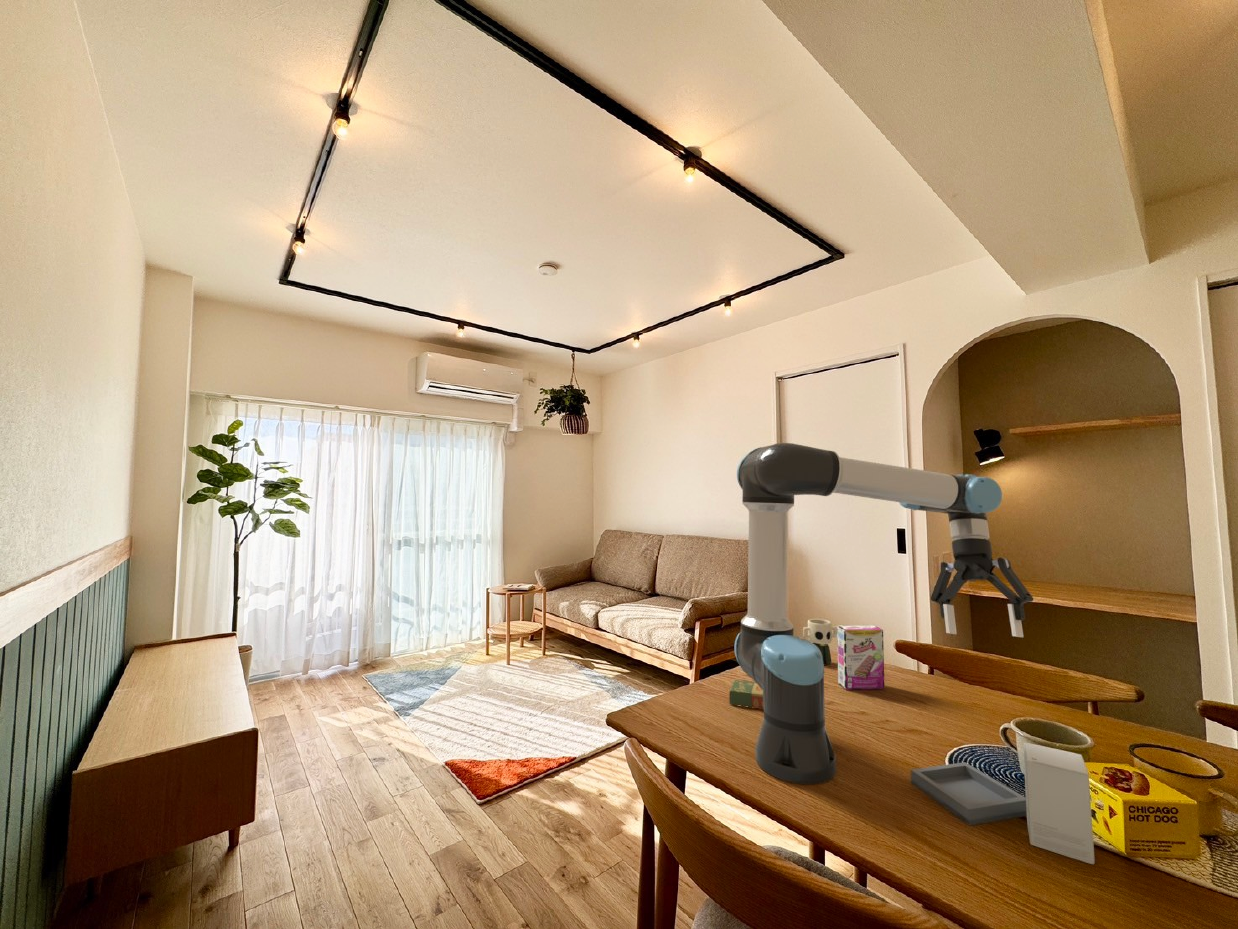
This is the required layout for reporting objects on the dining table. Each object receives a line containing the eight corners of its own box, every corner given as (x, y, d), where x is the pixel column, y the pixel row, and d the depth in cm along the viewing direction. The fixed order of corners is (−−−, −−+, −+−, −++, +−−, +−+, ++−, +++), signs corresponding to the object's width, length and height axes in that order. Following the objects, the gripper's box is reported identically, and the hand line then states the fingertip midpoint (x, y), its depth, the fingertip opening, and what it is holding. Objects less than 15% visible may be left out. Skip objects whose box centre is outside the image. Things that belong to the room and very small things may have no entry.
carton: (795, 716, 121) (794, 698, 121) (729, 706, 127) (728, 689, 127) (796, 702, 129) (796, 685, 129) (734, 694, 135) (733, 678, 135)
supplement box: (1096, 867, 71) (1090, 775, 72) (1029, 845, 75) (1024, 758, 76) (1088, 838, 77) (1083, 753, 78) (1026, 820, 81) (1022, 740, 82)
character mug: (808, 667, 155) (807, 624, 156) (799, 659, 162) (798, 619, 163) (843, 666, 155) (841, 623, 156) (832, 658, 162) (830, 618, 163)
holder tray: (969, 825, 80) (968, 809, 80) (911, 783, 92) (910, 769, 92) (1029, 815, 82) (1029, 799, 82) (965, 775, 94) (964, 762, 94)
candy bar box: (846, 690, 136) (844, 629, 137) (837, 684, 141) (835, 625, 142) (886, 690, 136) (883, 629, 137) (876, 683, 141) (874, 624, 142)
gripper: (1041, 536, 108) (1060, 639, 101) (928, 547, 129) (937, 633, 122) (1022, 530, 105) (1040, 636, 98) (909, 543, 126) (917, 631, 119)
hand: (983, 635), depth 110 cm, fingers open, 13 cm apart
